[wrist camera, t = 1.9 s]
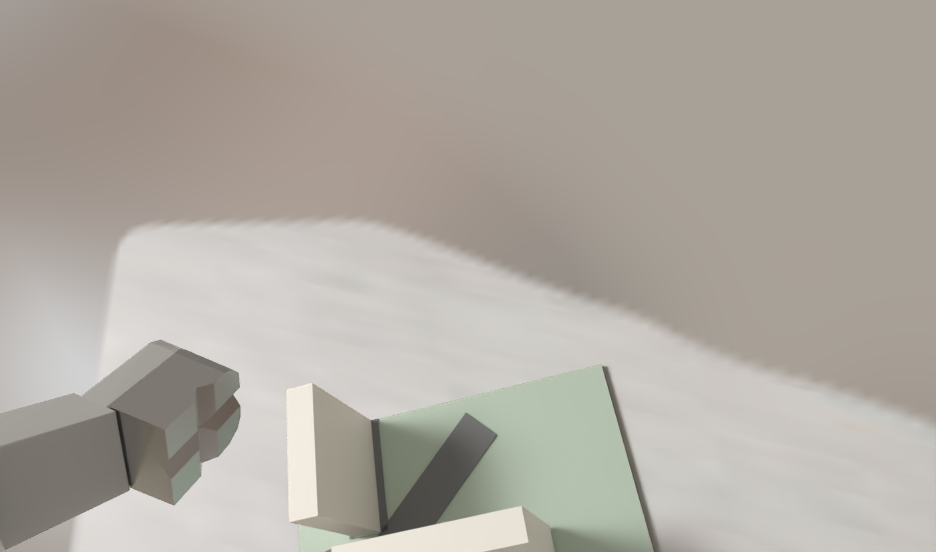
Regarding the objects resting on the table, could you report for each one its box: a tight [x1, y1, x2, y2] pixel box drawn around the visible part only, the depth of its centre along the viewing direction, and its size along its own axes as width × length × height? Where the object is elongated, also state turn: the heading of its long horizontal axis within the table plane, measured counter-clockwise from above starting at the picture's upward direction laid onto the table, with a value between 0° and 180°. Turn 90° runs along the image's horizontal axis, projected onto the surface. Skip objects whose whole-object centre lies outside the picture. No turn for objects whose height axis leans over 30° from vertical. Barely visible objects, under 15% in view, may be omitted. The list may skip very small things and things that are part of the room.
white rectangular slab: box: [331, 506, 555, 552], centre depth 32 cm, size 9×2×8 cm, turn 99°
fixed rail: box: [286, 383, 381, 552], centre depth 35 cm, size 10×2×8 cm, turn 9°
